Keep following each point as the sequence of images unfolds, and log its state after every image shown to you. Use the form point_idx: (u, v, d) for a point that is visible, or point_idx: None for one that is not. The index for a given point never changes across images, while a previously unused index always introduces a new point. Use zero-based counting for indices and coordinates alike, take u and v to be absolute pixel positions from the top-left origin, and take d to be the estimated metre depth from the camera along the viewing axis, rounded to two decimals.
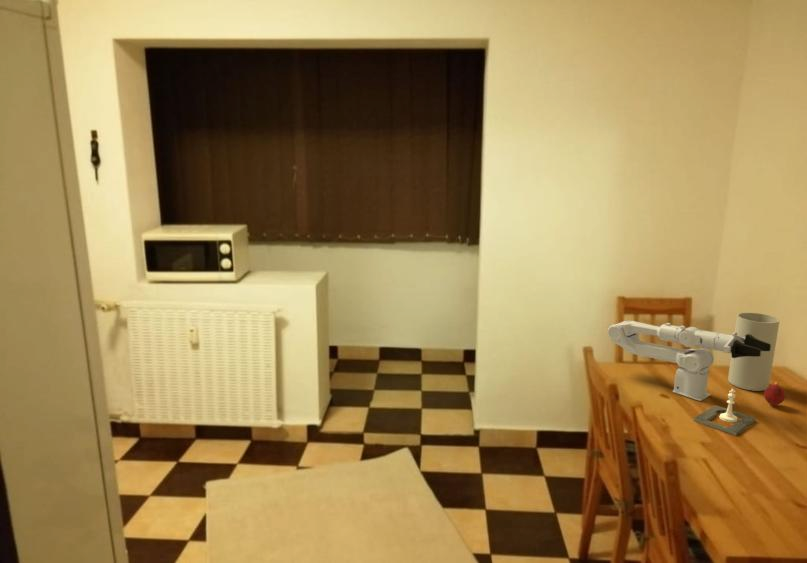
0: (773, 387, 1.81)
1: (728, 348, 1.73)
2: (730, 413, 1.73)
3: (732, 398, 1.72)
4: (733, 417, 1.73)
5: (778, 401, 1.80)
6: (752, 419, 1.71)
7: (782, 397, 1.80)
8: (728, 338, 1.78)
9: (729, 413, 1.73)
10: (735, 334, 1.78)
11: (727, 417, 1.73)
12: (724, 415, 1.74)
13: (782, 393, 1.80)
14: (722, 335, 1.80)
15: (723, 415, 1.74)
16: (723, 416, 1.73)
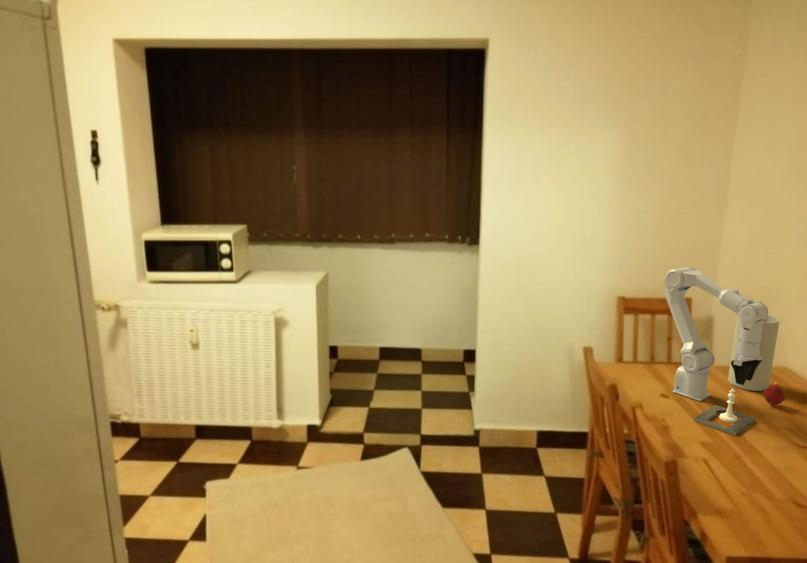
0: (773, 387, 1.81)
1: (739, 364, 1.70)
2: (730, 413, 1.73)
3: (732, 398, 1.72)
4: (733, 417, 1.73)
5: (778, 401, 1.80)
6: (752, 419, 1.71)
7: (782, 397, 1.80)
8: (753, 355, 1.71)
9: (729, 413, 1.73)
10: None
11: (727, 417, 1.73)
12: (724, 415, 1.74)
13: (782, 393, 1.80)
14: (756, 348, 1.71)
15: (723, 415, 1.74)
16: (723, 416, 1.73)
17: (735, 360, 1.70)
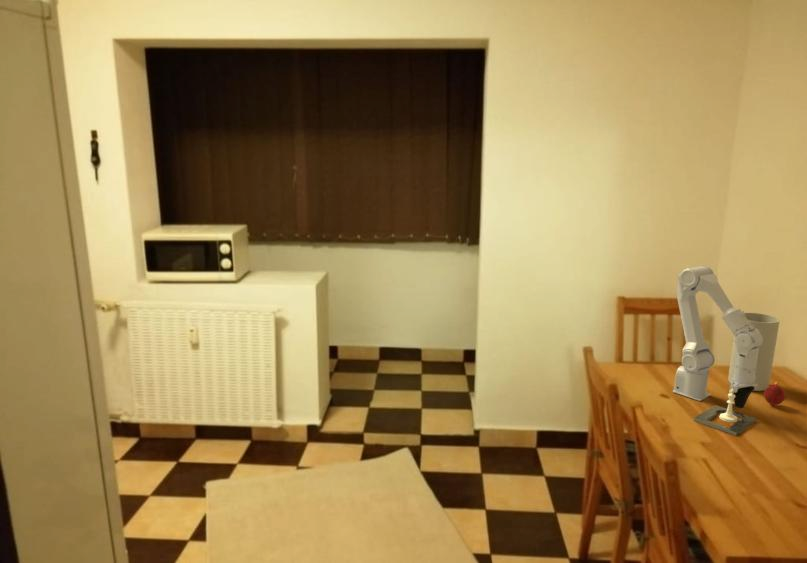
0: (773, 387, 1.81)
1: (734, 391, 1.72)
2: (730, 413, 1.73)
3: (732, 398, 1.72)
4: (733, 417, 1.73)
5: (778, 401, 1.80)
6: (752, 419, 1.71)
7: (782, 397, 1.80)
8: (748, 381, 1.73)
9: (729, 413, 1.73)
10: None
11: (727, 417, 1.73)
12: (724, 415, 1.74)
13: (782, 393, 1.80)
14: (752, 374, 1.73)
15: (723, 415, 1.74)
16: (723, 416, 1.73)
17: (731, 386, 1.72)
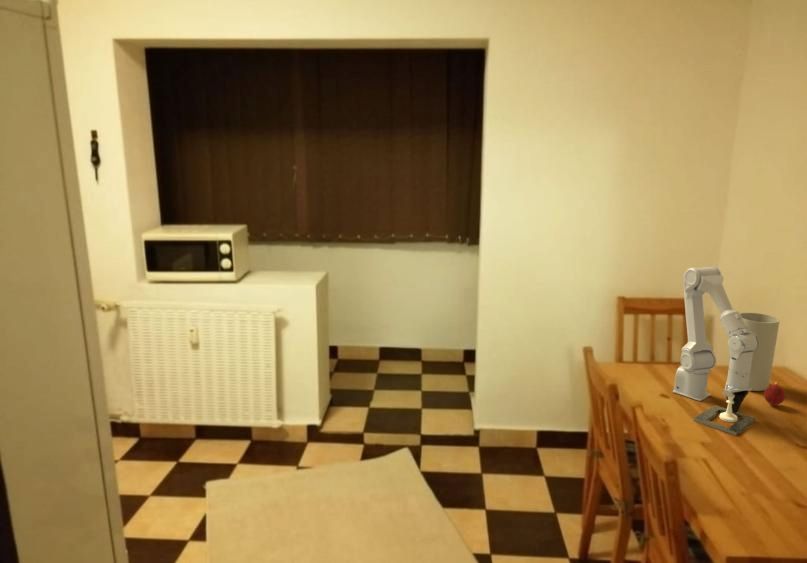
0: (773, 387, 1.81)
1: (728, 395, 1.69)
2: (730, 413, 1.73)
3: (731, 398, 1.71)
4: (733, 417, 1.72)
5: (778, 401, 1.80)
6: (752, 419, 1.71)
7: (782, 397, 1.80)
8: (742, 385, 1.70)
9: (729, 413, 1.73)
10: None
11: (727, 417, 1.73)
12: (724, 415, 1.74)
13: (782, 393, 1.80)
14: (746, 378, 1.70)
15: (723, 415, 1.74)
16: (723, 416, 1.73)
17: (725, 391, 1.69)
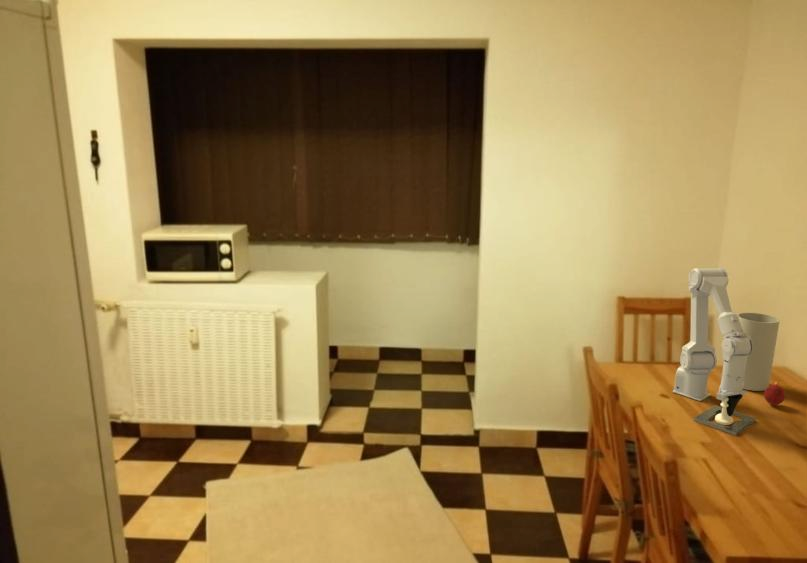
0: (773, 387, 1.81)
1: (721, 399, 1.66)
2: (725, 415, 1.70)
3: (725, 402, 1.69)
4: (728, 419, 1.70)
5: (778, 401, 1.80)
6: (752, 419, 1.71)
7: (782, 397, 1.80)
8: (736, 389, 1.68)
9: (724, 415, 1.70)
10: None
11: (722, 420, 1.71)
12: (719, 417, 1.72)
13: (782, 393, 1.80)
14: (740, 382, 1.67)
15: (718, 417, 1.72)
16: (718, 419, 1.71)
17: (718, 395, 1.67)
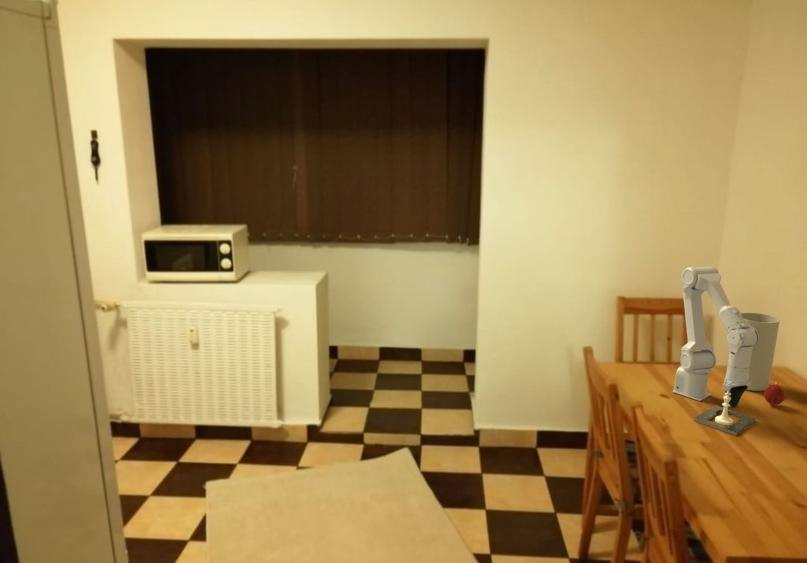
0: (773, 387, 1.81)
1: (727, 390, 1.68)
2: (726, 416, 1.71)
3: (727, 401, 1.70)
4: (729, 420, 1.71)
5: (778, 401, 1.80)
6: (752, 419, 1.71)
7: (782, 397, 1.80)
8: (742, 380, 1.69)
9: (724, 416, 1.71)
10: None
11: (722, 420, 1.71)
12: (720, 418, 1.72)
13: (782, 393, 1.80)
14: (745, 373, 1.69)
15: (718, 418, 1.72)
16: (718, 419, 1.72)
17: (723, 386, 1.69)
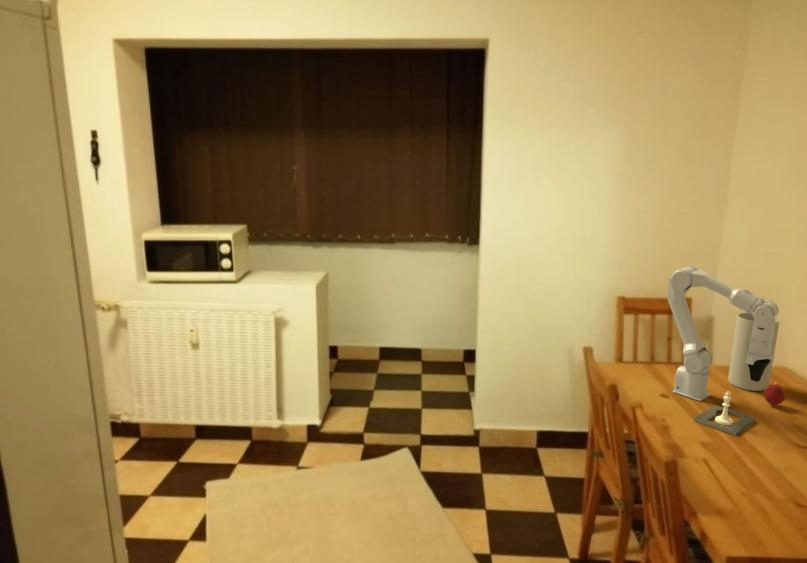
0: (773, 387, 1.81)
1: (751, 363, 1.71)
2: (726, 416, 1.71)
3: (728, 401, 1.70)
4: (729, 420, 1.71)
5: (778, 401, 1.80)
6: (752, 419, 1.71)
7: (782, 397, 1.80)
8: (765, 353, 1.72)
9: (724, 416, 1.71)
10: None
11: (723, 420, 1.71)
12: (720, 418, 1.72)
13: (782, 393, 1.80)
14: (768, 347, 1.72)
15: (719, 418, 1.72)
16: (718, 419, 1.72)
17: (747, 359, 1.71)
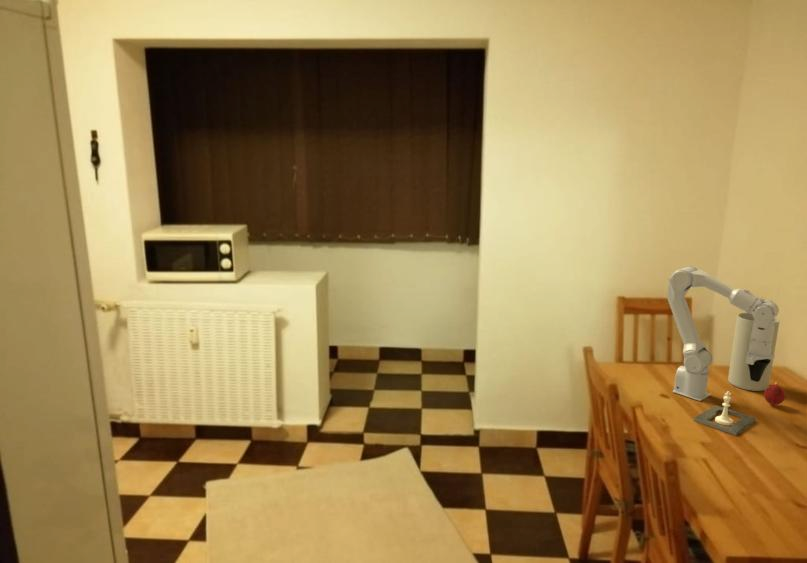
0: (773, 387, 1.81)
1: (751, 363, 1.71)
2: (726, 416, 1.71)
3: (728, 401, 1.70)
4: (729, 420, 1.71)
5: (778, 401, 1.80)
6: (752, 419, 1.71)
7: (782, 397, 1.80)
8: (765, 353, 1.72)
9: (724, 416, 1.71)
10: None
11: (723, 420, 1.71)
12: (720, 418, 1.72)
13: (782, 393, 1.80)
14: (768, 347, 1.72)
15: (718, 418, 1.72)
16: (718, 419, 1.72)
17: (747, 359, 1.71)
